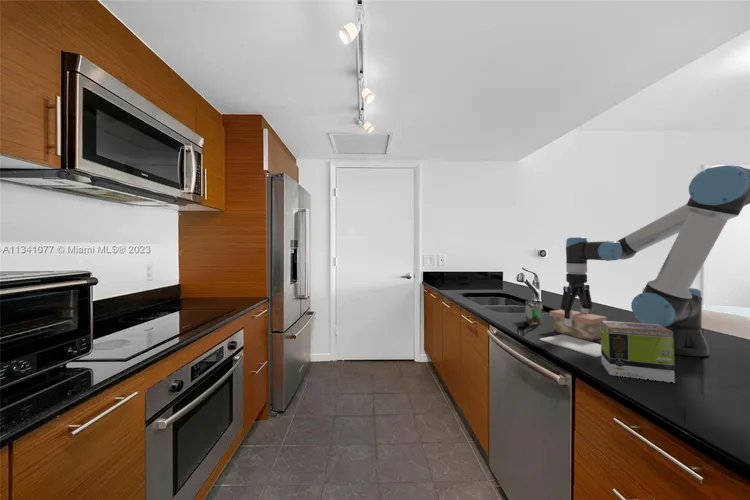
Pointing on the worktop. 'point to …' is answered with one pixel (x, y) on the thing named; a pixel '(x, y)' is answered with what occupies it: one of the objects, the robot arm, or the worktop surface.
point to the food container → (533, 313)
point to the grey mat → (575, 344)
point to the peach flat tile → (579, 317)
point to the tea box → (638, 350)
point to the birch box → (578, 329)
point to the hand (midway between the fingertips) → (576, 324)
